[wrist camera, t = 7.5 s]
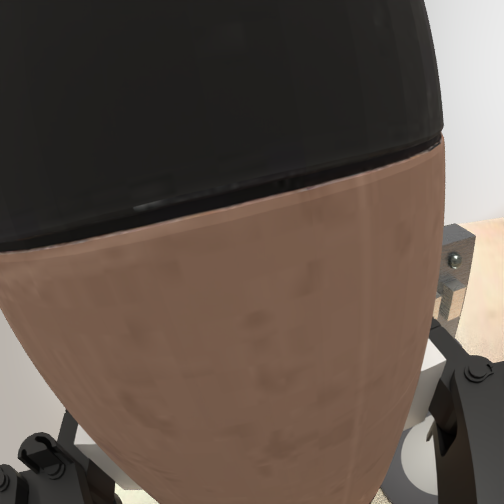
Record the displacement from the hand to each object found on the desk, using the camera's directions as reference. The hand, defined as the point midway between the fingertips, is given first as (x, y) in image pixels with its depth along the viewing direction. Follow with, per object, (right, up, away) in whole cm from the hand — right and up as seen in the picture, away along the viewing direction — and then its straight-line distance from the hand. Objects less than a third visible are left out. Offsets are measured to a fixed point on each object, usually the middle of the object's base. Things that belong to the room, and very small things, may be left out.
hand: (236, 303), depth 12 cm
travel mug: (+3, -12, +1) cm, 12 cm away
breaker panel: (+15, -10, +18) cm, 25 cm away
